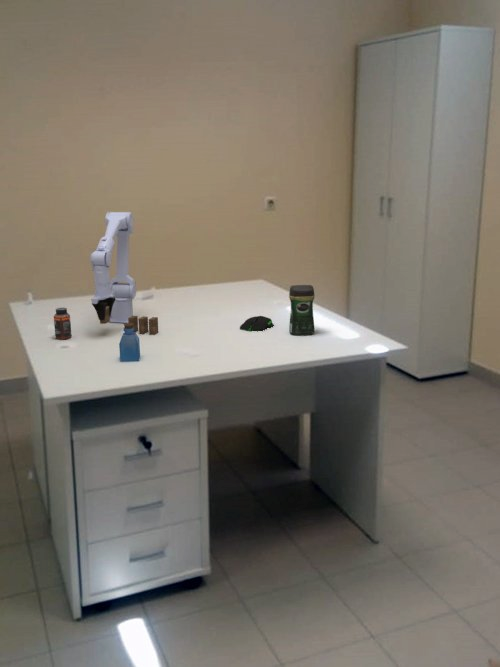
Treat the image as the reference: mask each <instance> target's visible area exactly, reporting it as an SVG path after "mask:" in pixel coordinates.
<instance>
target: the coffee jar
mask: <svg viewBox="0 0 500 667" xmlns="http://www.w3.org/2000/svg"><path fill="white" fill-rule="evenodd" d="M315 296H316V295H315V290H314V286H313V285H311V284H297V285H296V284H295V285H294V284H293V285H291V286H290V287H289V294H288V298H289V300H290V314H289V324H288V325H289V326H288V330H289V331H288V332H289V334H290V335H294V336H308V335H313V334H314V333H315V321H314V320H315V319H314V306H313V305H314V304H313V303H314V300H315V298H316V297H315Z"/></svg>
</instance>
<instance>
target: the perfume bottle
mask: <svg viewBox="0 0 500 667" xmlns="http://www.w3.org/2000/svg"><path fill="white" fill-rule="evenodd" d="M123 326H124V327H123V332H122V335H121V338H120V340H119V343H118V344H119V346H118V347H119V362H121V363H122V362H125V363H127V362H140V358H141V346H140V337H139V336H138V335H137V332H133V331H134V327H133V324H132V323H123Z"/></svg>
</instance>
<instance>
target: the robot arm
mask: <svg viewBox="0 0 500 667" xmlns="http://www.w3.org/2000/svg"><path fill="white" fill-rule="evenodd" d="M104 223H105V226H106V229H105V233H104V236H102V237H101V238H100V239H99V242H98V244H97V247H96V249H95V250H94V251H93V252H91V254H90V260H89V262H90V266H91V269H92V272H93V277H94V291H95V294H94V295H93V297H92V298H91V299H90V300H91V305H92V306H93V308H94V310H95V312H96V315H97V317H98V320H99V321H100V320H105V310H106V306H109V313H110V322H109V323H119V324H120V323H121V324H126V323H128V318H129V317H131V316H134V307H133V306H134V305H133V303H134V302H133V300H134V299H135V298H136V296H137V286H136V280H135V279H134V278H133V277H131V276H130V274H129V273H130V272H129V270H130V268H129V267H130V235H131V234H133V233H134V223H135V222H134V216H133V213H132V212H130V211H116V212H115V211H107V213H106V214H105V219H104ZM115 238H116V241H115ZM115 242H116V243H115ZM115 245H116V275H115V276H114V277H112V278H111V273H110V266H111V265H112V257H113V254H112V253H113V251H114V247H115Z"/></svg>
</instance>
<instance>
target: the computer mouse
mask: <svg viewBox="0 0 500 667" xmlns="http://www.w3.org/2000/svg"><path fill="white" fill-rule="evenodd" d="M273 326H274V327H275V325H274V323H273V321H272V319H271V318H270V317H267V316H262V315H258V316H256V315H255V316H251V317H249V318H247V319H245V321H244V322H243V323H242V324H241V325H240V326H239V330H241V331H244V332H245V331H246V332H252V331H257V332H258V331H262V332H264V331H266V330H268V329H267V328H269V329H272V328H274V327H273ZM271 327H272V328H271ZM265 329H266V330H265ZM263 330H264V331H263ZM258 333H259V332H258Z"/></svg>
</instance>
